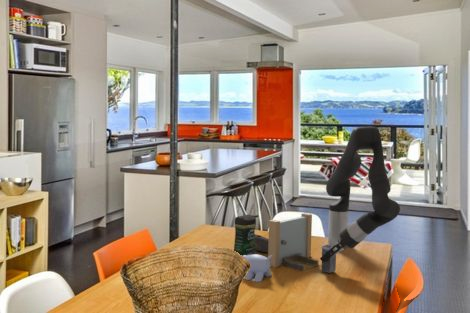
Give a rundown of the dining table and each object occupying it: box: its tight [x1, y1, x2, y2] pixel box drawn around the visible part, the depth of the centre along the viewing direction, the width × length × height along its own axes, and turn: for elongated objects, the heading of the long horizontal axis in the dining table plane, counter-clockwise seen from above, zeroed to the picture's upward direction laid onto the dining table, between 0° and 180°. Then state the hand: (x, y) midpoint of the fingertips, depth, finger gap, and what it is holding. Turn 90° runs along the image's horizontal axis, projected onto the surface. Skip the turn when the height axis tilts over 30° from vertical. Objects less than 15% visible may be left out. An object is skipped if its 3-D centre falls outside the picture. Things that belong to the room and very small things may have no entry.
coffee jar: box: [233, 214, 257, 256], centre depth 204 cm, size 10×8×19 cm
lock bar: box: [320, 243, 337, 274], centre depth 185 cm, size 4×4×10 cm
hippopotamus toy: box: [243, 253, 273, 283], centre depth 179 cm, size 11×15×10 cm
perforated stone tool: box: [255, 233, 269, 254], centre depth 213 cm, size 15×5×7 cm, turn 42°
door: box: [267, 212, 313, 268], centre depth 199 cm, size 24×5×19 cm, turn 133°
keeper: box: [282, 253, 319, 272], centre depth 194 cm, size 11×10×3 cm
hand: (324, 258), depth 186 cm, fingers closed on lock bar, 5 cm apart
